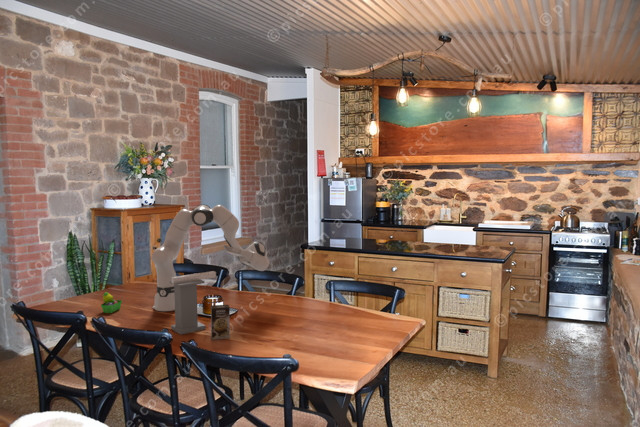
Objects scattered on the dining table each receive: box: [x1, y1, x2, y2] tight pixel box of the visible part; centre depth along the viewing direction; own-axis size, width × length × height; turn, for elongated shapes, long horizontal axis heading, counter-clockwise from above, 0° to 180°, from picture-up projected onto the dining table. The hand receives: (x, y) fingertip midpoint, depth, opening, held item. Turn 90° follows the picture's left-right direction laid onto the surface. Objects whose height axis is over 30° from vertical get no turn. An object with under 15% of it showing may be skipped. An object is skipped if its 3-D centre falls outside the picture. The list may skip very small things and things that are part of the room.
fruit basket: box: [100, 291, 123, 314], centre depth 300 cm, size 11×9×11 cm
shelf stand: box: [170, 279, 207, 335], centre depth 265 cm, size 14×12×26 cm
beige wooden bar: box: [171, 270, 217, 284], centre depth 266 cm, size 24×3×3 cm, turn 129°
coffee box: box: [210, 304, 231, 341], centre depth 252 cm, size 9×6×16 cm
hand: (228, 247), depth 290 cm, fingers open, 8 cm apart
